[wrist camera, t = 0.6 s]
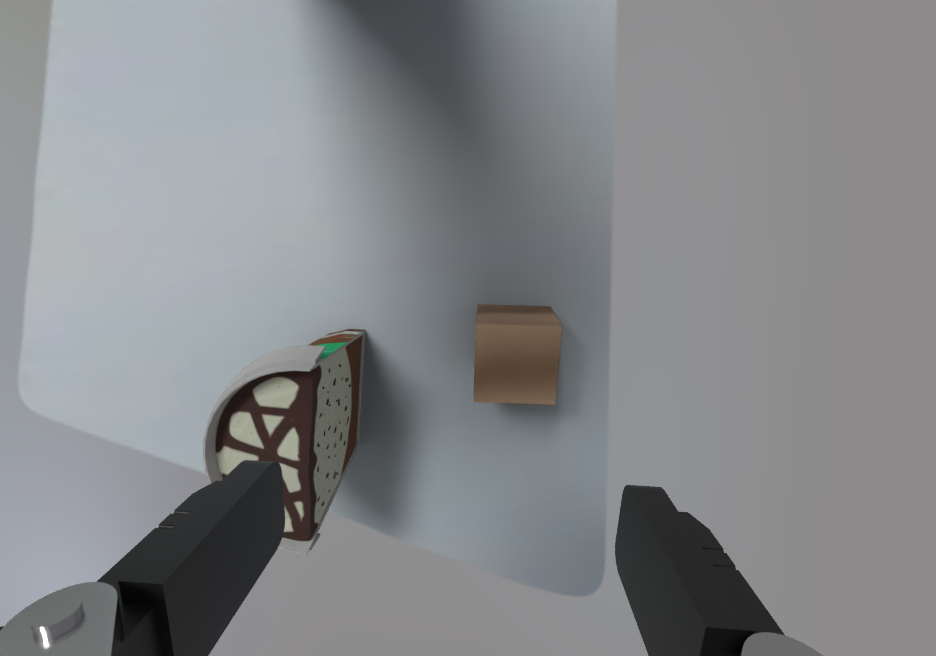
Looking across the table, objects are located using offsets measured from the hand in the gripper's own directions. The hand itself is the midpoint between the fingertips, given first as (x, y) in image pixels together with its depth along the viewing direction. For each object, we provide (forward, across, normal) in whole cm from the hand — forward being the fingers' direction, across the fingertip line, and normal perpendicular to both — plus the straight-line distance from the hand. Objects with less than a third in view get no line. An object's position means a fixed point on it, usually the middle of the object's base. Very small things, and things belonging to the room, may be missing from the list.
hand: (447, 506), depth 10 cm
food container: (+21, +11, +6) cm, 25 cm away
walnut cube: (+21, -3, +2) cm, 21 cm away
